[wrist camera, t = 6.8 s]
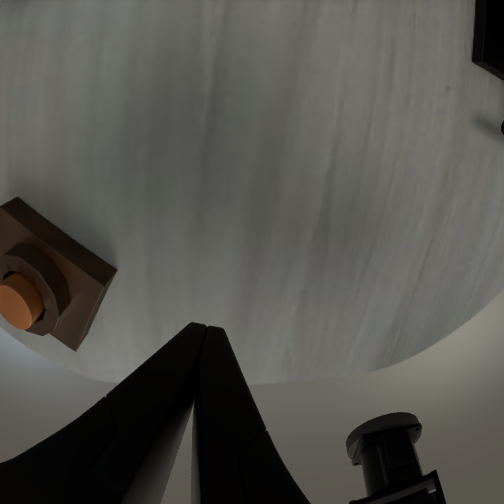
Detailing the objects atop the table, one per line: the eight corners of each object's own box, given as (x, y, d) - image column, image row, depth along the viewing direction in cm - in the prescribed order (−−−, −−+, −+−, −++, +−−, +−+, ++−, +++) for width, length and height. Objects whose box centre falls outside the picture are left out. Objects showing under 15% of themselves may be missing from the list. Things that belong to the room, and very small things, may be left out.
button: (48, 292, 18) (35, 306, 17) (40, 324, 19) (28, 338, 18) (11, 262, 17) (-4, 274, 16) (5, 296, 19) (-8, 309, 17)
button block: (117, 270, 21) (93, 301, 18) (86, 335, 24) (66, 366, 21) (17, 196, 19) (-17, 215, 15) (1, 271, 22) (-26, 294, 18)
